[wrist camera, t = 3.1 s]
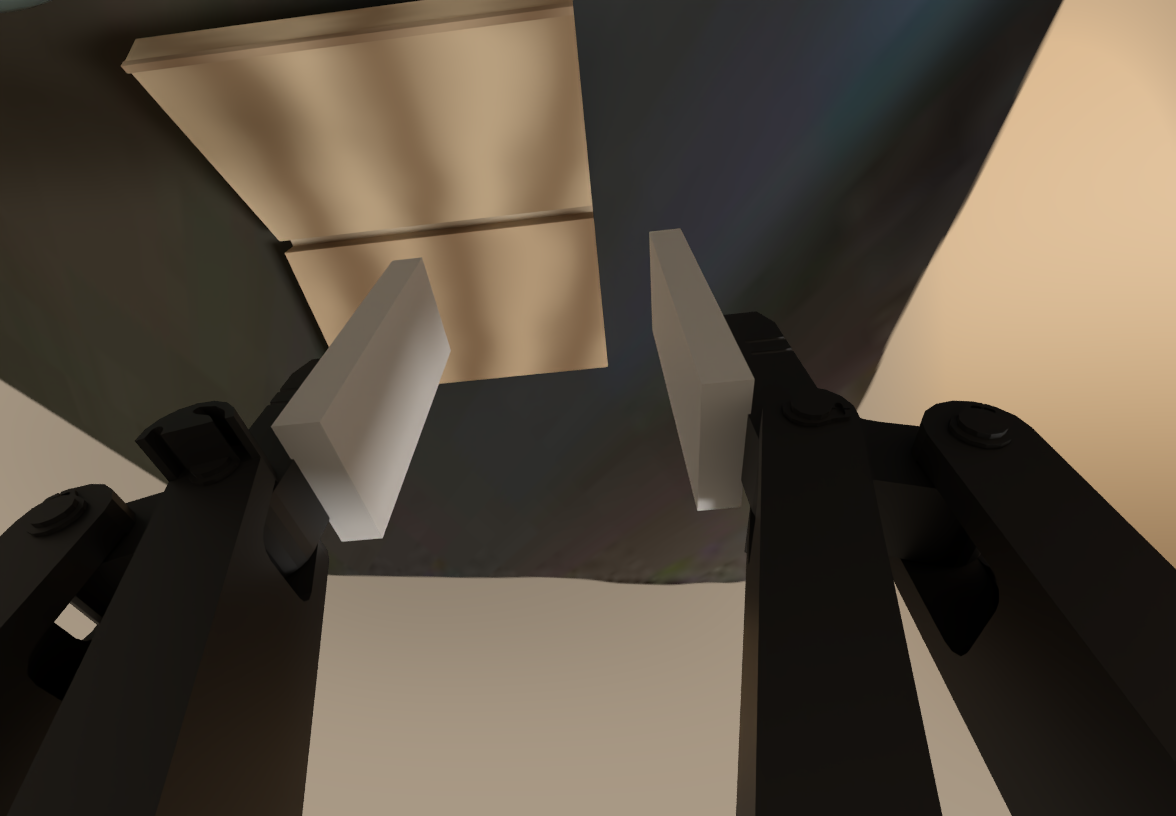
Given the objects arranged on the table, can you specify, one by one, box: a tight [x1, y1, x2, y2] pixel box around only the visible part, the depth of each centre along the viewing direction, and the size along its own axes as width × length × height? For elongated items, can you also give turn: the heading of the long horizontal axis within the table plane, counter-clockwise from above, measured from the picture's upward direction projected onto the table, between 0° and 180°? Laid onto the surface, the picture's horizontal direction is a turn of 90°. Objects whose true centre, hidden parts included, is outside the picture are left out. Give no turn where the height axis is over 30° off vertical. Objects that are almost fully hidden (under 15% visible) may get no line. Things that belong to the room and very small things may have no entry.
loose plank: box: [121, 0, 592, 241], centre depth 25 cm, size 18×10×2 cm, turn 96°
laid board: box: [285, 206, 608, 384], centre depth 33 cm, size 18×11×2 cm, turn 96°
